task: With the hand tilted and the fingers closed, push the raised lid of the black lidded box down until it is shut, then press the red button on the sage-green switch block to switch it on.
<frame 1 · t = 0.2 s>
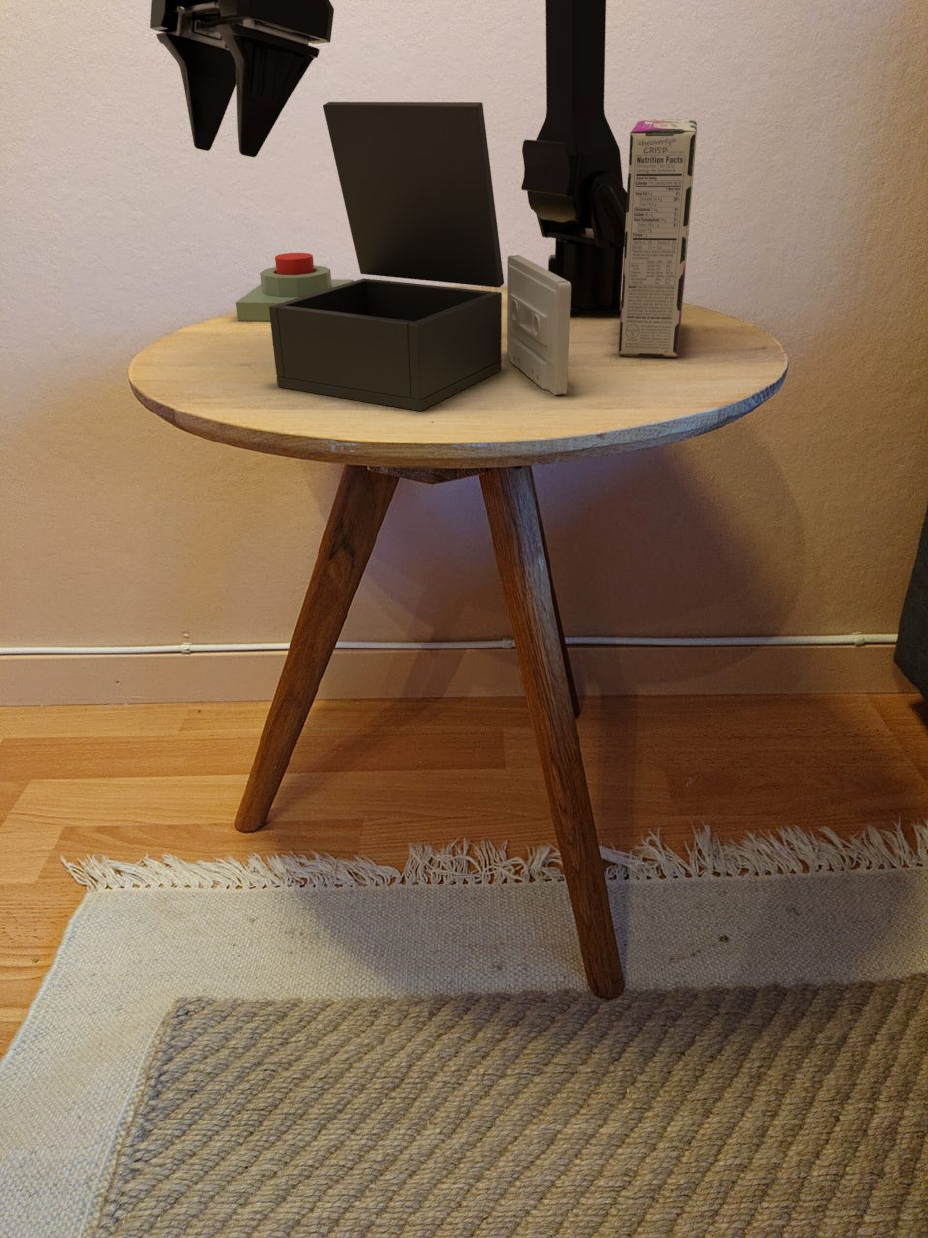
hand: (223, 152, 68), 15 cm above the table, tool pointing down, fingers open, 9 cm apart
switch block: (298, 307, 95), on the table
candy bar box: (648, 343, 82), on the table
cassette: (534, 376, 73), on the table
lid: (415, 196, 70), point 12 cm above the table, hinge at 75.0°
button: (294, 265, 93), point 4 cm above the table, slide at 0.1 cm
black lidded box: (391, 378, 73), on the table
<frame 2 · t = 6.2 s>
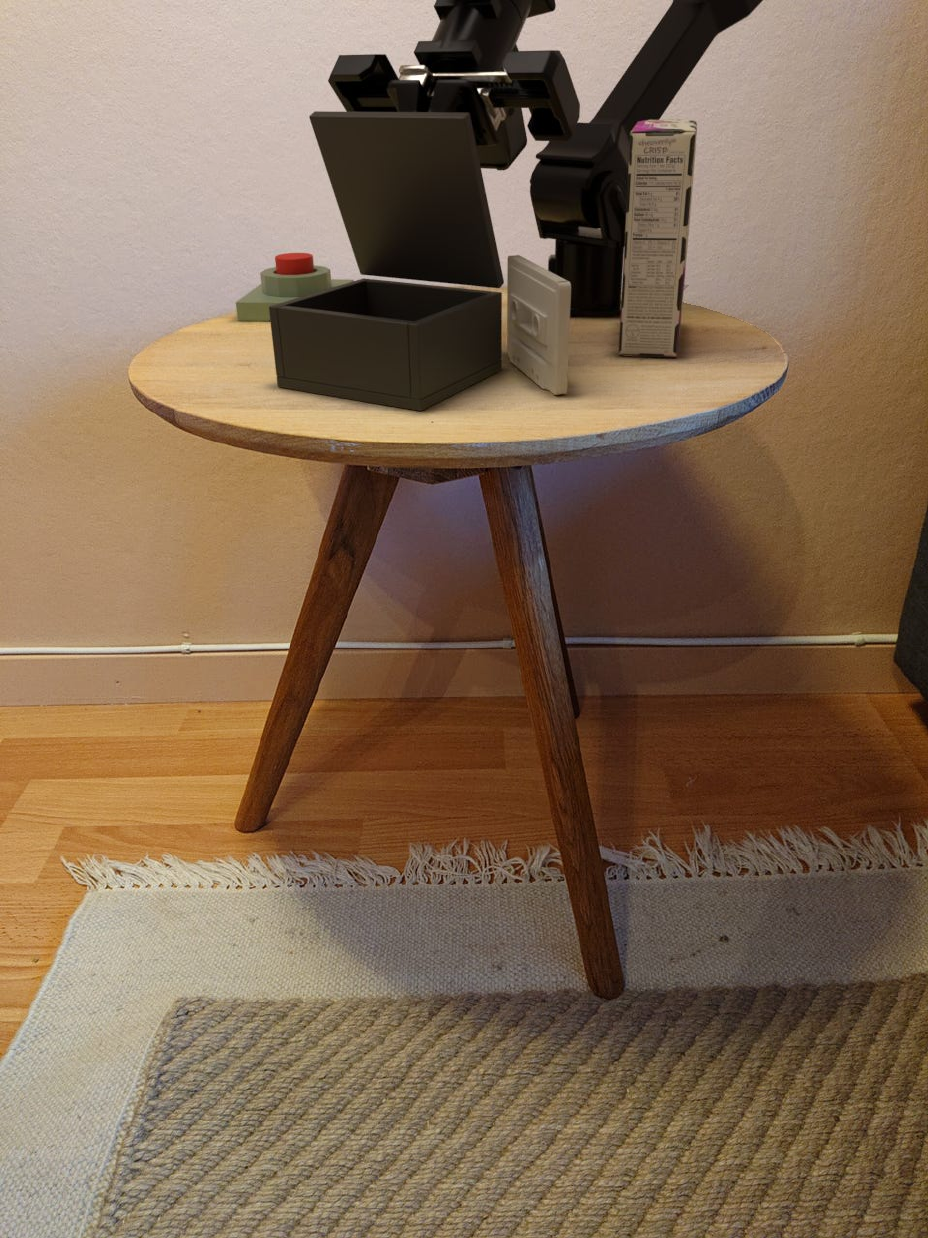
hand: (410, 192, 69), 13 cm above the table, tool tilted 45°, fingers closed, pressing on lid
lid: (409, 201, 69), point 12 cm above the table, hinge at 66.7°, touching gripper
everything else where it was.
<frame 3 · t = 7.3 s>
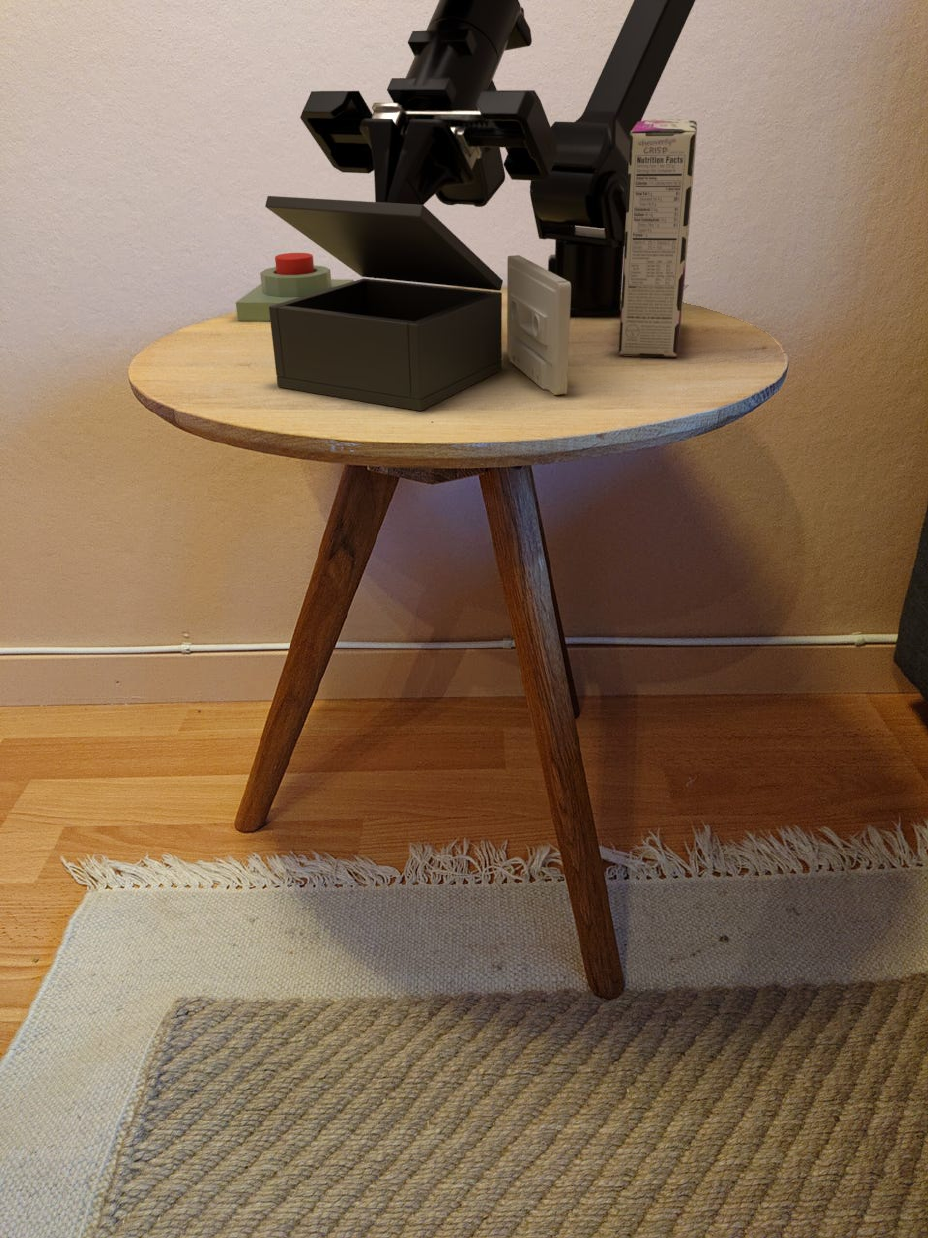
hand: (383, 233, 68), 10 cm above the table, tool tilted 45°, fingers closed, pressing on lid
lid: (388, 244, 69), point 9 cm above the table, hinge at 30.7°, touching gripper
everything else where it was.
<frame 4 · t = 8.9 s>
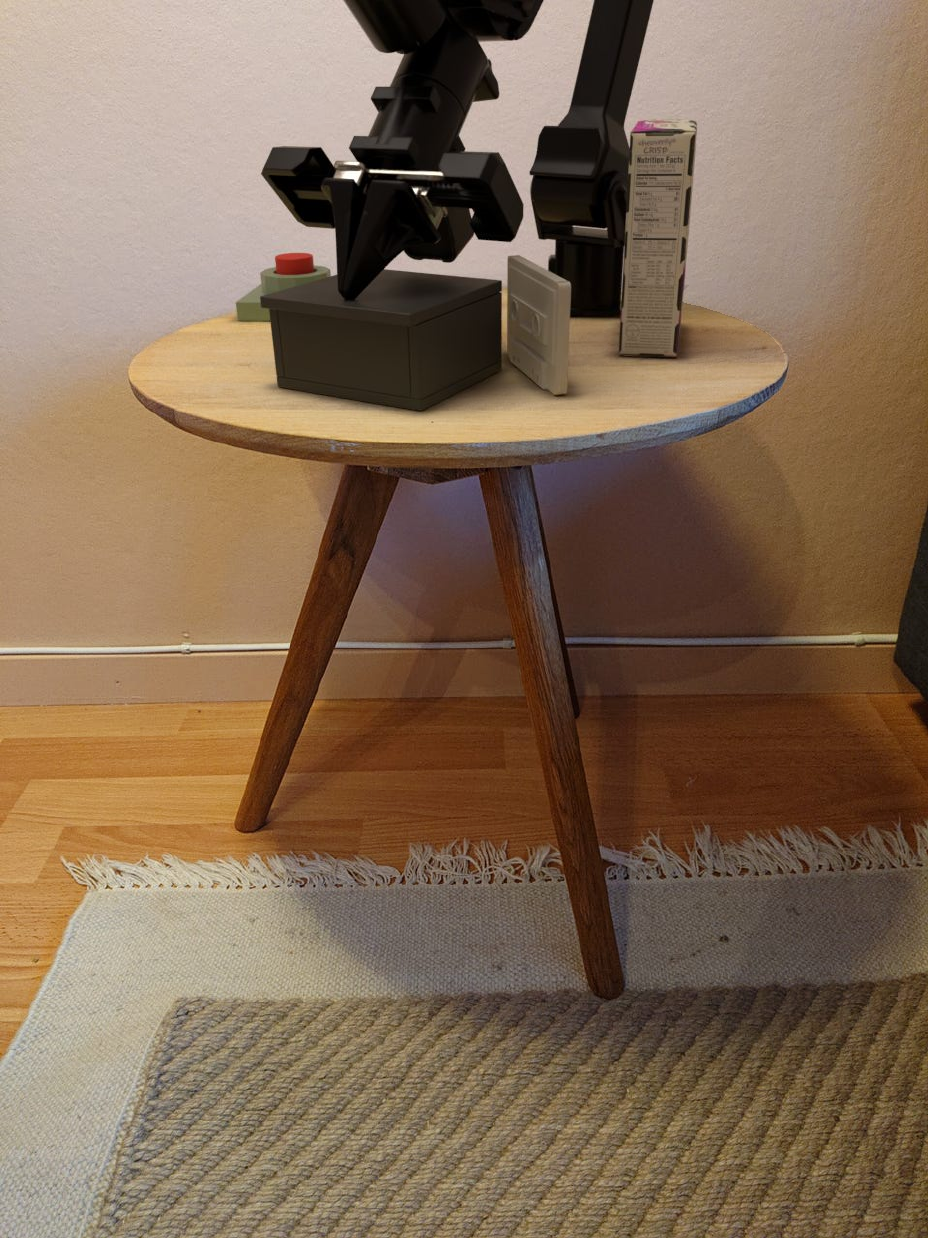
hand: (345, 295, 66), 7 cm above the table, tool tilted 45°, fingers closed, pressing on lid
lid: (384, 293, 69), point 6 cm above the table, hinge at -0.1°, touching gripper
everything else where it was.
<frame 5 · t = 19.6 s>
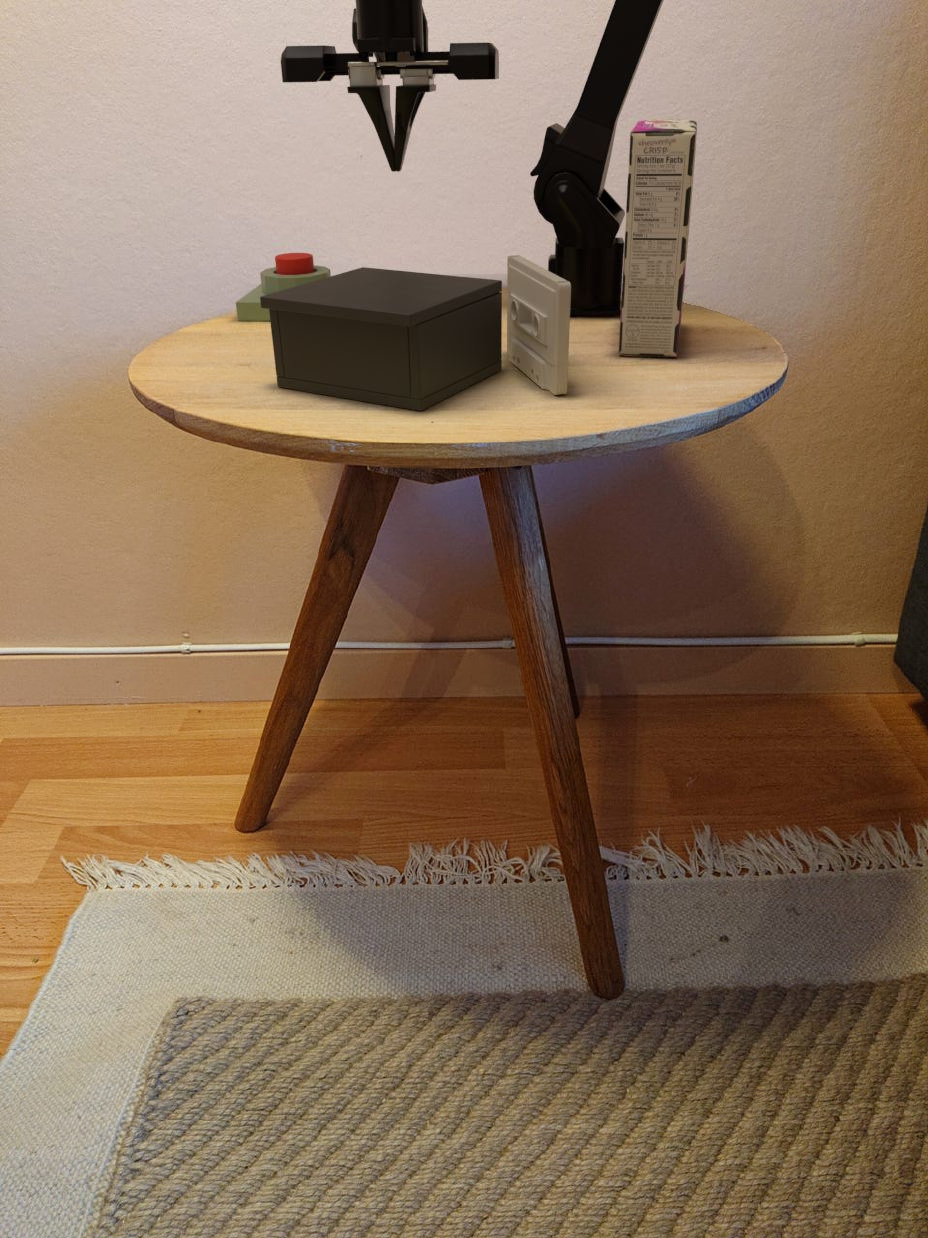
hand: (396, 170, 90), 12 cm above the table, tool pointing down, fingers closed
lid: (384, 293, 69), point 6 cm above the table, hinge at -0.1°
everything else where it was.
at the end: lid at +0° (first picture: +75°); button pushed in 1.1 cm at the most during the clip, back to where it started at the end; button slide at 0.1 cm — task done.
